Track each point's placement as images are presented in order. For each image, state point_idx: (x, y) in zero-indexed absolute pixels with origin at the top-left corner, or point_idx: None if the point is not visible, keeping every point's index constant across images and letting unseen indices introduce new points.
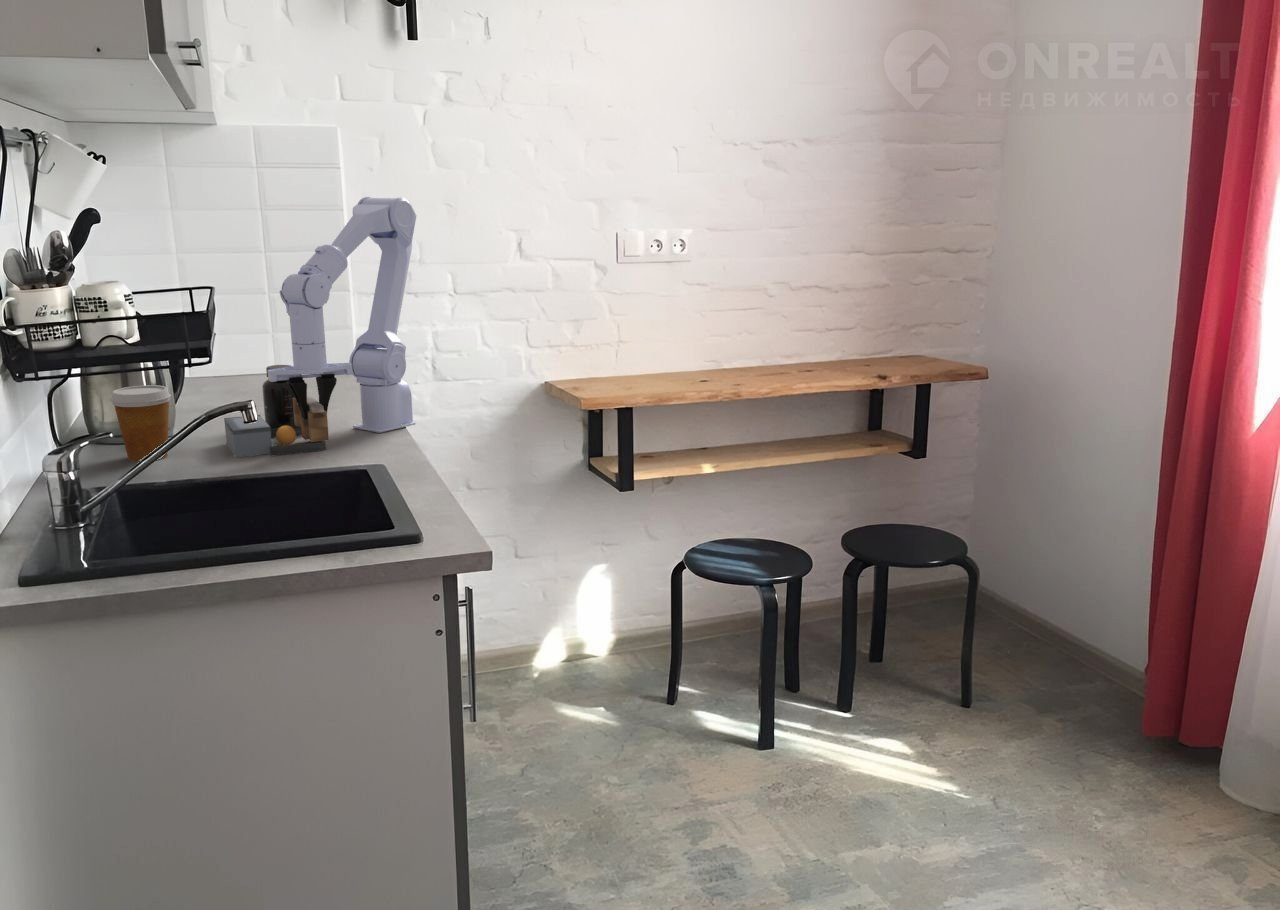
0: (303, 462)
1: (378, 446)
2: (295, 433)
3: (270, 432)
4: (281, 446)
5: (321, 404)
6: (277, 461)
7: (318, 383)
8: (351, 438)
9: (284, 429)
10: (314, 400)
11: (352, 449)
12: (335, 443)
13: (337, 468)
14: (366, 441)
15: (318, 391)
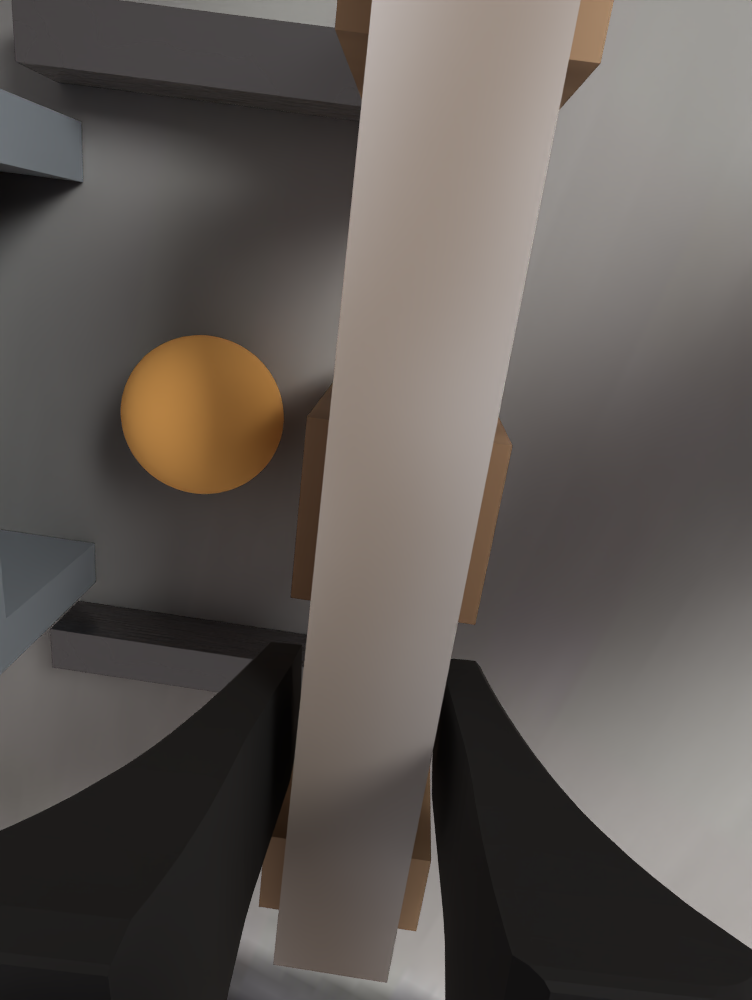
0: None
1: (696, 776)
2: (267, 461)
3: (14, 660)
4: (119, 676)
5: (445, 804)
6: (95, 752)
7: (481, 986)
8: (684, 491)
9: (165, 476)
10: (424, 682)
11: (537, 753)
12: (522, 564)
13: (320, 991)
14: (714, 629)
15: (473, 828)
